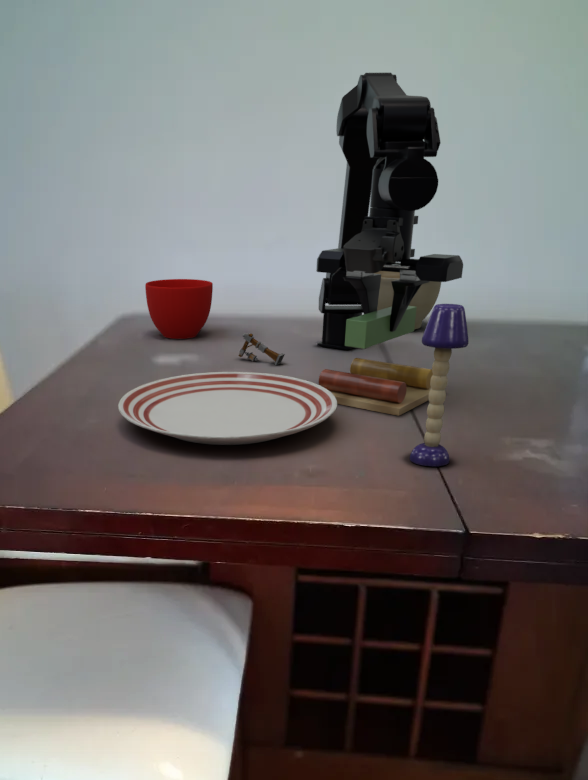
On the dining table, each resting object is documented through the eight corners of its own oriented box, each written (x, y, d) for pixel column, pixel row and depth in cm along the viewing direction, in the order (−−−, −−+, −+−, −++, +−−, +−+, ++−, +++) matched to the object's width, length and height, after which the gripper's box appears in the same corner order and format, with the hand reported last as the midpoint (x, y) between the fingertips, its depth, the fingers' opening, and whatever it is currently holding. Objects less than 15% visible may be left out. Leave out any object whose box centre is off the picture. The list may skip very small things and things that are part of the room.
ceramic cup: (235, 330, 151) (235, 279, 147) (189, 345, 138) (188, 289, 134) (182, 324, 158) (181, 275, 154) (133, 337, 145) (131, 284, 141)
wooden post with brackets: (237, 352, 128) (247, 328, 126) (274, 375, 126) (285, 352, 124) (232, 354, 127) (242, 330, 124) (269, 378, 125) (280, 355, 122)
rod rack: (307, 398, 105) (308, 371, 104) (355, 378, 115) (357, 354, 113) (398, 415, 97) (401, 387, 95) (442, 393, 107) (445, 367, 105)
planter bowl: (376, 317, 164) (380, 266, 159) (448, 325, 155) (455, 271, 151) (343, 329, 152) (347, 273, 147) (419, 338, 143) (426, 279, 139)
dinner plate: (273, 476, 78) (274, 446, 76) (74, 433, 91) (71, 407, 90) (368, 411, 99) (370, 387, 97) (195, 384, 112) (195, 362, 111)
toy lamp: (402, 453, 84) (419, 301, 77) (442, 451, 84) (462, 301, 78) (417, 468, 80) (435, 309, 73) (459, 466, 80) (481, 308, 73)
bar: (344, 346, 98) (346, 319, 97) (395, 329, 109) (397, 304, 107) (364, 349, 97) (366, 321, 95) (414, 331, 107) (416, 306, 106)
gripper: (297, 208, 96) (292, 331, 102) (435, 212, 85) (420, 348, 91) (340, 205, 103) (333, 319, 110) (472, 208, 93) (455, 334, 99)
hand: (381, 329), depth 102 cm, fingers closed on bar, 3 cm apart
